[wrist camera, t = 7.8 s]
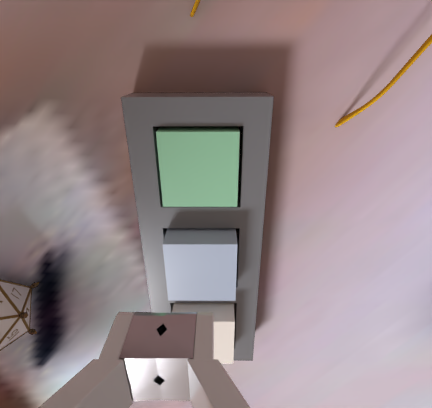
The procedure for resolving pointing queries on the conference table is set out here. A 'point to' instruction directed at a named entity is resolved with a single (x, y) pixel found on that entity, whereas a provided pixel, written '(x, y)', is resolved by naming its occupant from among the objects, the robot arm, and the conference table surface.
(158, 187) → the button panel
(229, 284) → the slate blue button
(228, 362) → the cream button
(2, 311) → the game die
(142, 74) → the conference table surface
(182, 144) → the green button
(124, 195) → the conference table surface
